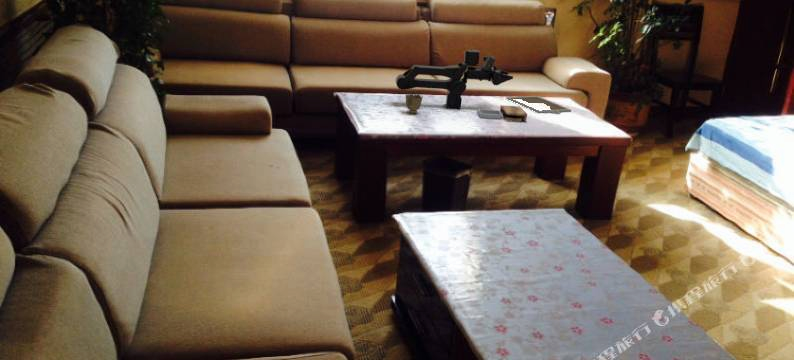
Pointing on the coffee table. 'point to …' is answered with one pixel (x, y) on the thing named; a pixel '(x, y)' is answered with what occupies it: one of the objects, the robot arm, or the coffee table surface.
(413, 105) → the cup
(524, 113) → the overhang
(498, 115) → the grey shallow tray
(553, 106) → the grey picture frame
